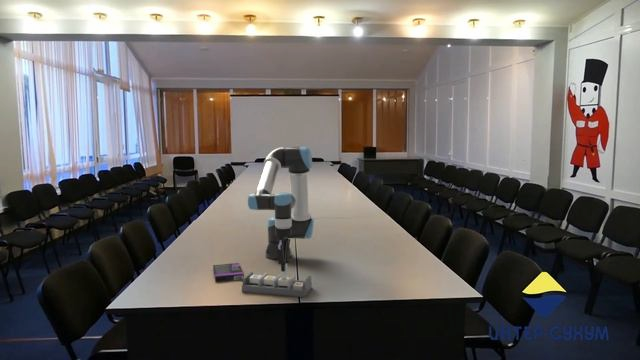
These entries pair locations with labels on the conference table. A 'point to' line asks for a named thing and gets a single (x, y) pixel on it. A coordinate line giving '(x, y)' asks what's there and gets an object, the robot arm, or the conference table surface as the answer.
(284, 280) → the key
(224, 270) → the box
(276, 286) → the keypad
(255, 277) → the key
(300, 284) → the key
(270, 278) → the key
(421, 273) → the conference table surface
